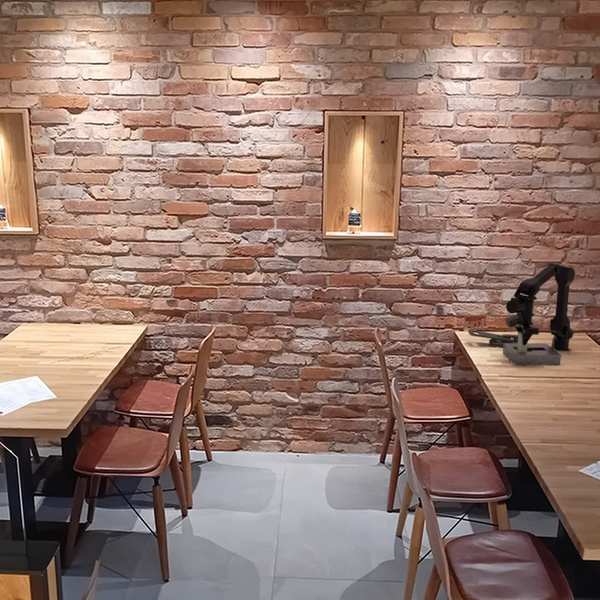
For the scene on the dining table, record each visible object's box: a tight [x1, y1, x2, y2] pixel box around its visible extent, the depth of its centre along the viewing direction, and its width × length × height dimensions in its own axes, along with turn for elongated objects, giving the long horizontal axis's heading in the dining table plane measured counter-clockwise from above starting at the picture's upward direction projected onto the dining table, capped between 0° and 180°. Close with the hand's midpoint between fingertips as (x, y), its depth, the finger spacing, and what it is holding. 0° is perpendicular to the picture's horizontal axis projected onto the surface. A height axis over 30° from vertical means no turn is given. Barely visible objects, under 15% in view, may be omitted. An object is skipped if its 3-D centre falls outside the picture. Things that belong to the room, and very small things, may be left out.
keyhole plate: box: [502, 342, 562, 366], centre depth 323 cm, size 20×16×5 cm
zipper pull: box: [467, 328, 518, 349], centre depth 342 cm, size 9×7×25 cm
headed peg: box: [516, 332, 529, 352], centre depth 322 cm, size 5×5×10 cm
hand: (522, 344), depth 322 cm, fingers closed on headed peg, 3 cm apart
